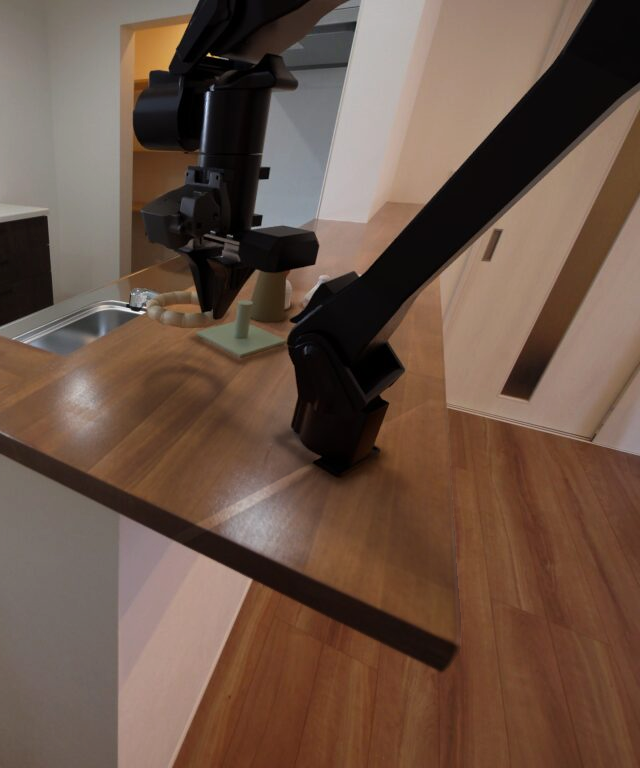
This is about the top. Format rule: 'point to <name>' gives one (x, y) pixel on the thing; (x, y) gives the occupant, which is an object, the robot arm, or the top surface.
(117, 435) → the top surface
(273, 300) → the olive pepper mill
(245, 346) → the green peg base
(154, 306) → the ring
